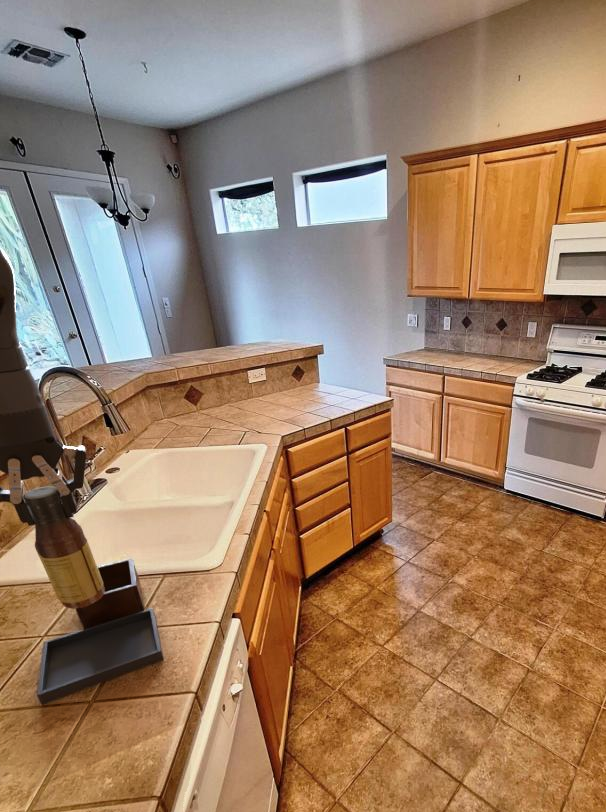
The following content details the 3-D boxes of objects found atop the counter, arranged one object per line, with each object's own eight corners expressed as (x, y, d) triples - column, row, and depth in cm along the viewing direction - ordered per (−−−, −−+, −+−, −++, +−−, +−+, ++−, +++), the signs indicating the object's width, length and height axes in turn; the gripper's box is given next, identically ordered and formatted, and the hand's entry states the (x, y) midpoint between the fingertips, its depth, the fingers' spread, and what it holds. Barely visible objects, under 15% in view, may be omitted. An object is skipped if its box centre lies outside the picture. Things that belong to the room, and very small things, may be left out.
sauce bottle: (84, 584, 74) (46, 479, 65) (115, 590, 73) (81, 483, 64) (49, 609, 68) (2, 496, 59) (82, 615, 67) (40, 502, 58)
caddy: (84, 632, 81) (73, 603, 78) (85, 599, 89) (74, 572, 86) (145, 613, 86) (136, 585, 83) (140, 584, 94) (132, 557, 91)
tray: (41, 705, 67) (36, 695, 66) (47, 650, 77) (43, 641, 76) (163, 659, 75) (161, 650, 74) (155, 615, 85) (152, 607, 84)
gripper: (73, 393, 62) (107, 499, 70) (-60, 404, 55) (-7, 520, 63) (72, 404, 57) (109, 518, 64) (-77, 418, 50) (-16, 544, 57)
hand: (51, 518), depth 64 cm, fingers closed on sauce bottle, 4 cm apart
